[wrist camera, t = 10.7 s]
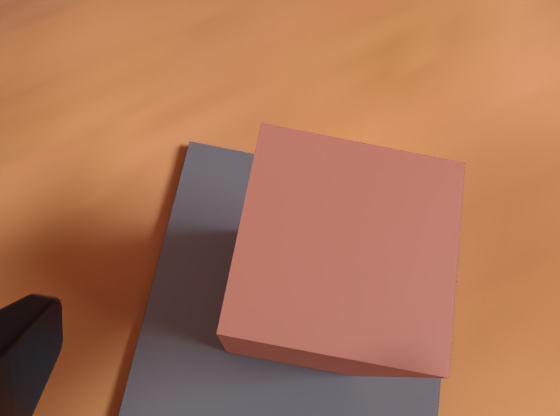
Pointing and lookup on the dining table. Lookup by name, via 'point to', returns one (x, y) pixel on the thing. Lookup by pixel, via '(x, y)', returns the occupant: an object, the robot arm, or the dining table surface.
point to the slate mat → (205, 318)
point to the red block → (345, 258)
